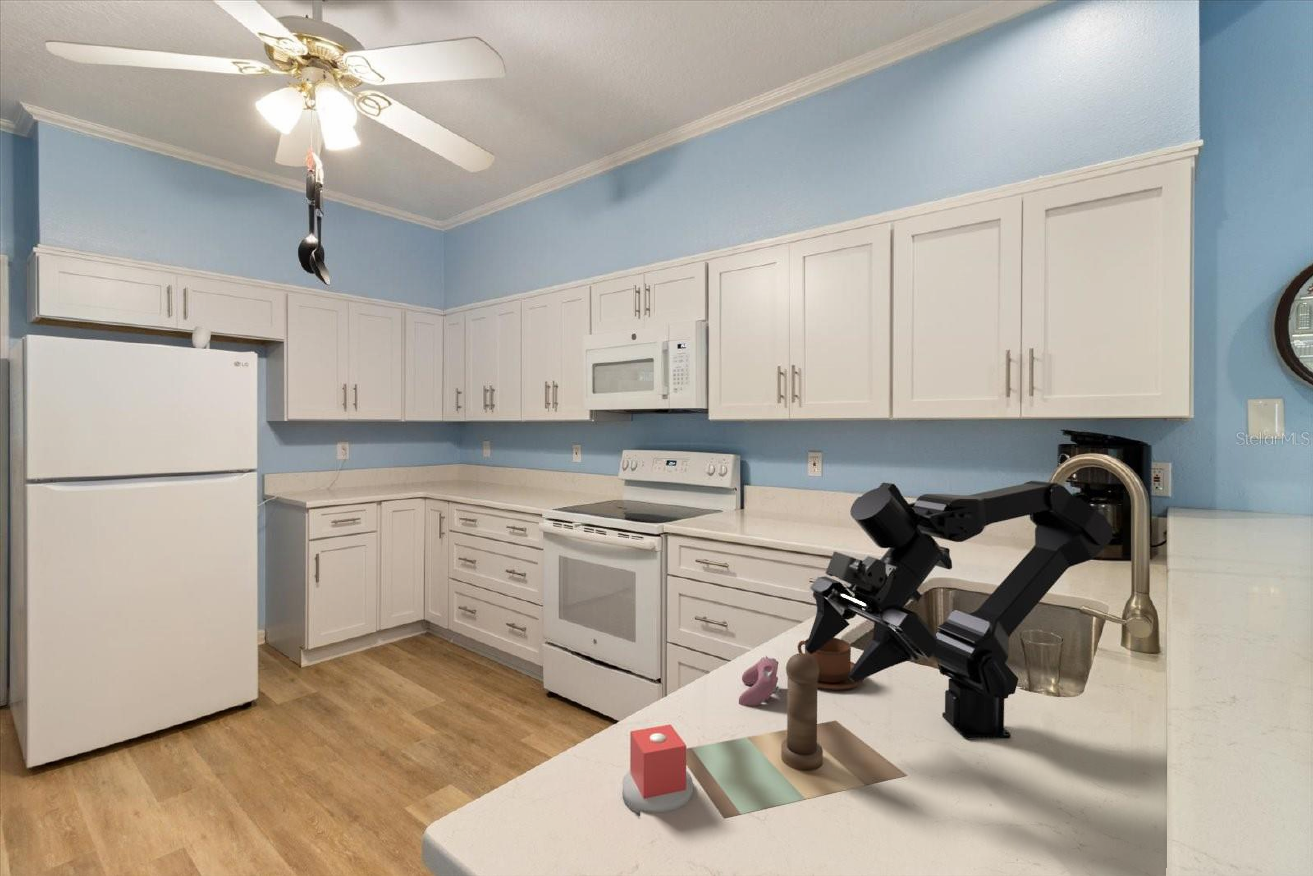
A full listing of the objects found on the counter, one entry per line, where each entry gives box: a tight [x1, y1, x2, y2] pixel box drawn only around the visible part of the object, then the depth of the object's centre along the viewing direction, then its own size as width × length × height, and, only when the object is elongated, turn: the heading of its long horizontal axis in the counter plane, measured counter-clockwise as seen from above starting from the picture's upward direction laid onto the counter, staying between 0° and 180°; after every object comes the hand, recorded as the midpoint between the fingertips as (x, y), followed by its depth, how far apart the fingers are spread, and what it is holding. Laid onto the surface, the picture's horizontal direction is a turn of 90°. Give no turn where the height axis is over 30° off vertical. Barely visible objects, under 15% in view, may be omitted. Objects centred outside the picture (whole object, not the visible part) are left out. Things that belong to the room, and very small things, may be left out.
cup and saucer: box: [797, 637, 866, 691], centre depth 100 cm, size 12×12×6 cm
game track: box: [686, 720, 908, 819], centre depth 75 cm, size 24×14×1 cm, turn 109°
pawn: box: [781, 652, 823, 771], centre depth 75 cm, size 5×5×13 cm
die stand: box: [622, 724, 694, 815], centre depth 69 cm, size 8×8×7 cm
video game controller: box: [738, 655, 780, 707], centre depth 94 cm, size 10×5×7 cm, turn 169°
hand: (828, 665), depth 76 cm, fingers open, 9 cm apart
